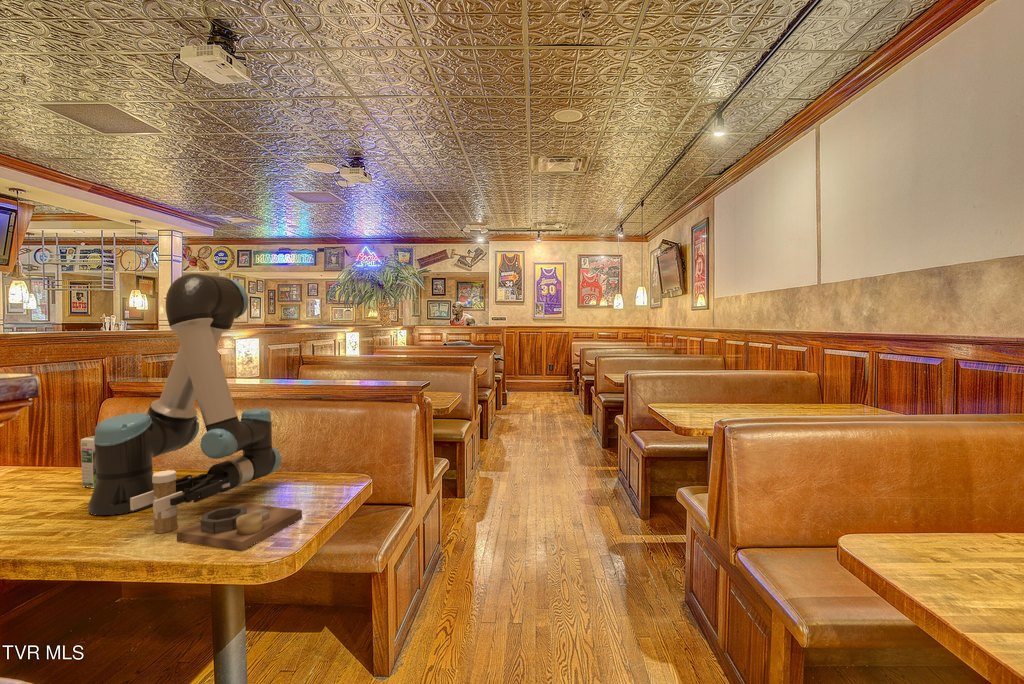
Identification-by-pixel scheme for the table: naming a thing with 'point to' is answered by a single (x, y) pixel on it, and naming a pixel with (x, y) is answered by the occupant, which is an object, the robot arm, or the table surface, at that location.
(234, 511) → the carrier board
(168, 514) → the sprinkles bottle
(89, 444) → the syrup box
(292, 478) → the table surface
